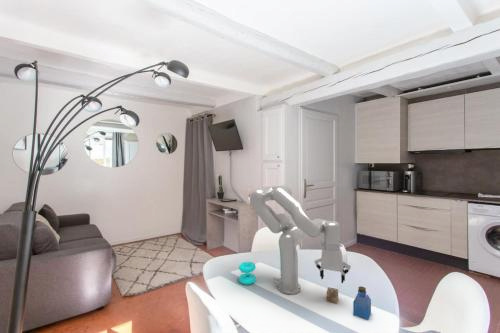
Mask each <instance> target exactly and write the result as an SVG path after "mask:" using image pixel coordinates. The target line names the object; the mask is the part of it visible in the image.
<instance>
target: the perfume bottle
mask: <svg viewBox="0 0 500 333" xmlns="http://www.w3.org/2000/svg"><path fill="white" fill-rule="evenodd" d="M357 288H358V289H357V294H356V296H355V297H354V300H353V301H352V305H353V308H352V311H353V316H354V317H357V318H361V319H363V320H366V321H369V319H370V316H371V314H372V299H371V298H370V296H369V294H367V291H366V289H367V288H366V287H364V286H358V287H357Z"/></svg>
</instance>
